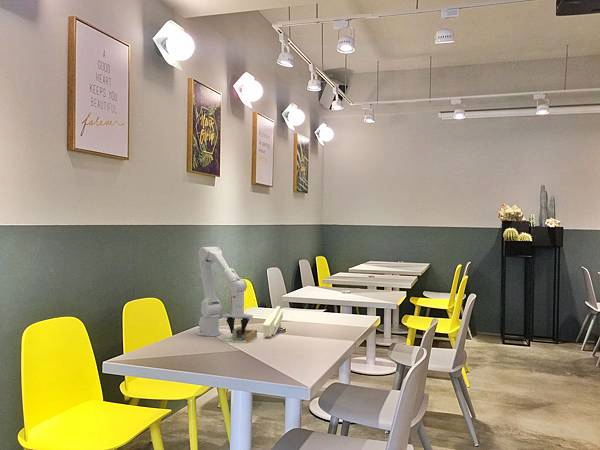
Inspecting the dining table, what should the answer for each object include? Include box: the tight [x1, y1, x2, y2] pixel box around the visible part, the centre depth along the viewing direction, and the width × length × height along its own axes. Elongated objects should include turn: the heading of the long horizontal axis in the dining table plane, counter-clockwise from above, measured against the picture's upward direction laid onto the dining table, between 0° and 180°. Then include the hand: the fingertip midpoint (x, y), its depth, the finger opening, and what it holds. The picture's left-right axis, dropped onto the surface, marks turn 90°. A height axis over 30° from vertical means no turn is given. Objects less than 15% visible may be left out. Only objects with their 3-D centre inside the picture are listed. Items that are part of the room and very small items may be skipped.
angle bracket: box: [231, 326, 246, 341], centre depth 241 cm, size 8×5×5 cm, turn 165°
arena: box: [223, 329, 258, 344], centre depth 243 cm, size 12×12×4 cm
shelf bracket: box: [262, 305, 284, 337], centre depth 258 cm, size 6×25×13 cm, turn 168°
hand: (237, 333), depth 242 cm, fingers open, 5 cm apart
